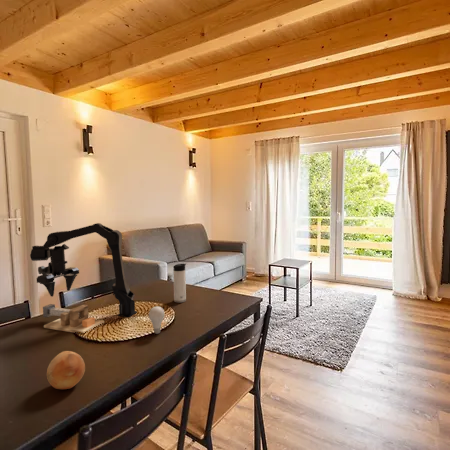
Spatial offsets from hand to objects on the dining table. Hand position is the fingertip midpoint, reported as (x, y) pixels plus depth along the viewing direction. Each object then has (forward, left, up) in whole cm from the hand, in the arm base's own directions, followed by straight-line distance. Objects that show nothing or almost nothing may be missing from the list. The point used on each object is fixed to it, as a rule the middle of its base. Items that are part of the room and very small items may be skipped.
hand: (60, 293), depth 141 cm
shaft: (-6, +5, -9) cm, 12 cm away
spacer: (-19, +5, -9) cm, 22 cm away
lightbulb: (-51, +2, -12) cm, 53 cm away
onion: (-45, +41, -12) cm, 62 cm away
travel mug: (-41, -38, -12) cm, 57 cm away
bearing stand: (-13, +5, -11) cm, 18 cm away
